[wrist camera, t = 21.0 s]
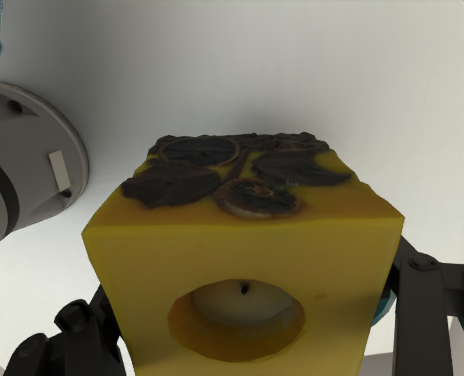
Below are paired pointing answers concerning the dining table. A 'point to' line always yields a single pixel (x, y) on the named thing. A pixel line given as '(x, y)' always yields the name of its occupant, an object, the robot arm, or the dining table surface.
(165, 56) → the dining table surface
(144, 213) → the candle
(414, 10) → the dining table surface
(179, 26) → the dining table surface
